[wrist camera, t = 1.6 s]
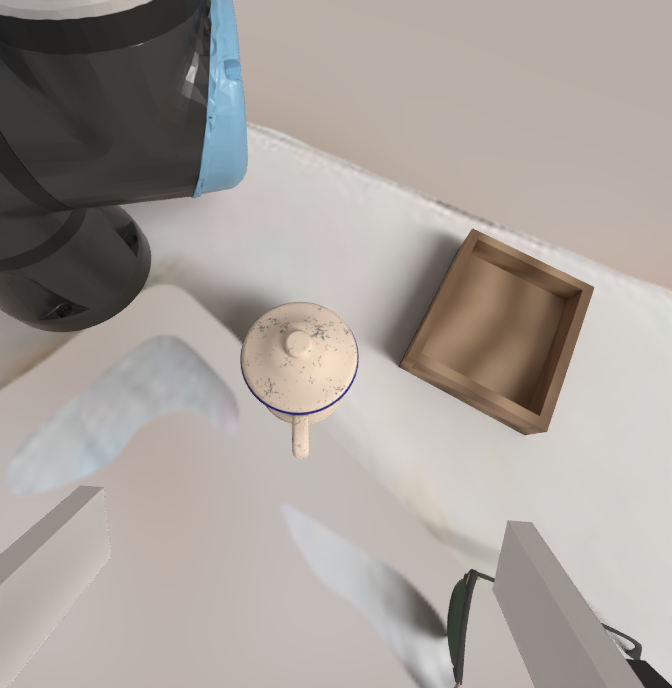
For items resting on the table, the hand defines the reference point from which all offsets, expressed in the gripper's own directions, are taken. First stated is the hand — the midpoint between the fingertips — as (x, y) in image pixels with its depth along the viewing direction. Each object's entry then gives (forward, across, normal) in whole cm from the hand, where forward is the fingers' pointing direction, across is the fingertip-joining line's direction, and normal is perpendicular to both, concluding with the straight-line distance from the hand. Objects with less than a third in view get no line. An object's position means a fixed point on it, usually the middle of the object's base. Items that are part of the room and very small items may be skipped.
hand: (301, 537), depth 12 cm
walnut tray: (+28, +17, +2) cm, 33 cm away
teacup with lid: (+23, -3, -5) cm, 24 cm away
